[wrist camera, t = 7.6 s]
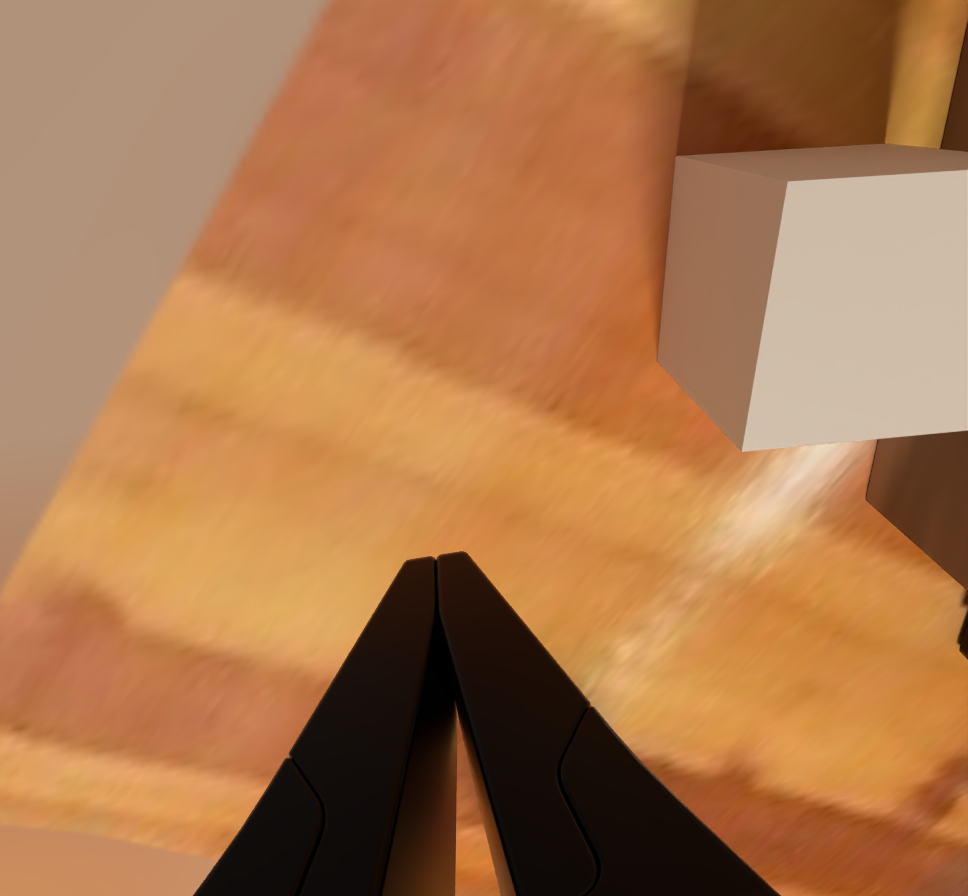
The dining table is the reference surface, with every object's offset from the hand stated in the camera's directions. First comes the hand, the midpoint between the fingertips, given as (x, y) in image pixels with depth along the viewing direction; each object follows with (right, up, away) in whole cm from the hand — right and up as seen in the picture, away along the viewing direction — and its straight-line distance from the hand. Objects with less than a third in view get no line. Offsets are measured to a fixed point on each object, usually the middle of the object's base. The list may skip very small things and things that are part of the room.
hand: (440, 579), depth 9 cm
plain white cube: (+9, +8, +10) cm, 16 cm away
